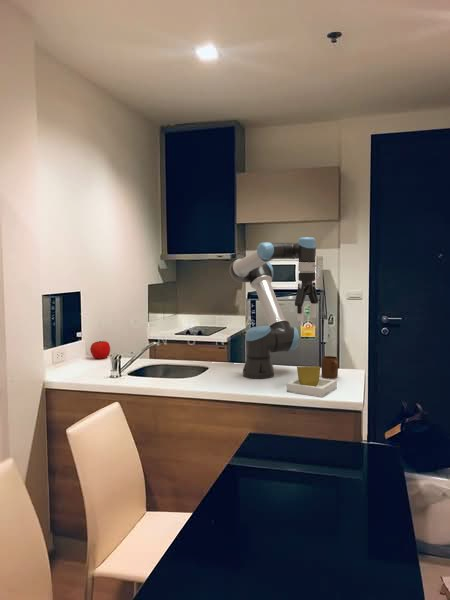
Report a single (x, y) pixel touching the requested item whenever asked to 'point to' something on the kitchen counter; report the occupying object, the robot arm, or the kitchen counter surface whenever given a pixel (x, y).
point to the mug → (329, 367)
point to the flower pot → (308, 375)
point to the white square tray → (320, 390)
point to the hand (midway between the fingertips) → (306, 319)
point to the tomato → (100, 349)
